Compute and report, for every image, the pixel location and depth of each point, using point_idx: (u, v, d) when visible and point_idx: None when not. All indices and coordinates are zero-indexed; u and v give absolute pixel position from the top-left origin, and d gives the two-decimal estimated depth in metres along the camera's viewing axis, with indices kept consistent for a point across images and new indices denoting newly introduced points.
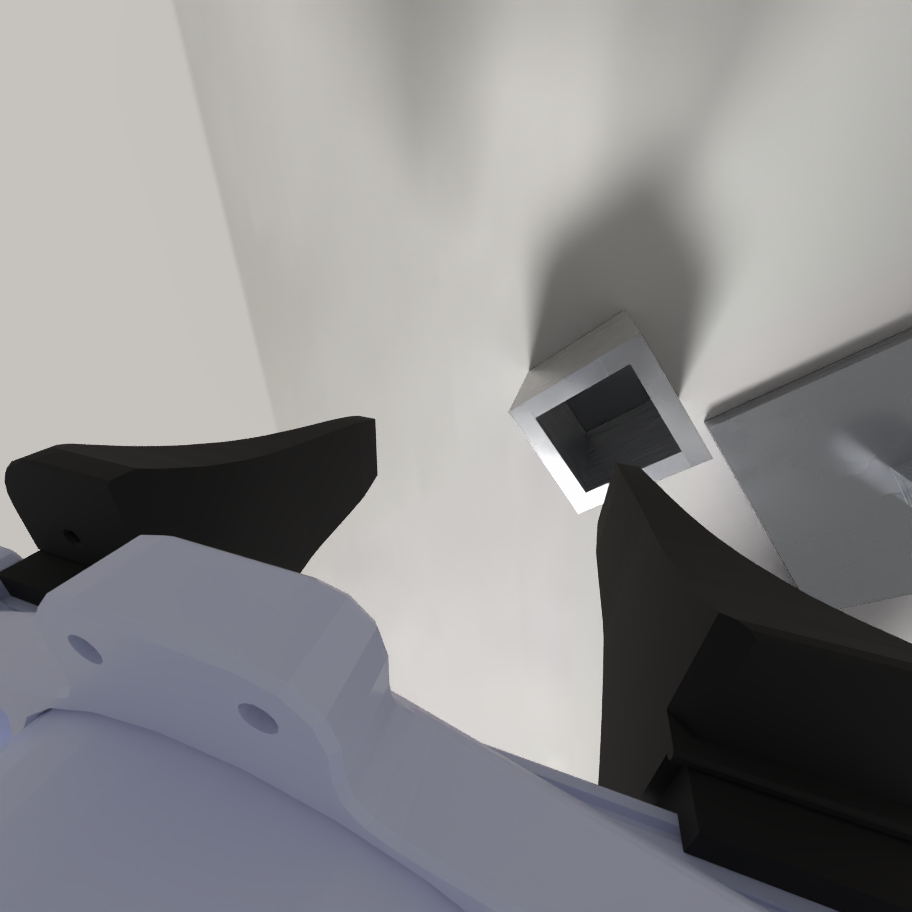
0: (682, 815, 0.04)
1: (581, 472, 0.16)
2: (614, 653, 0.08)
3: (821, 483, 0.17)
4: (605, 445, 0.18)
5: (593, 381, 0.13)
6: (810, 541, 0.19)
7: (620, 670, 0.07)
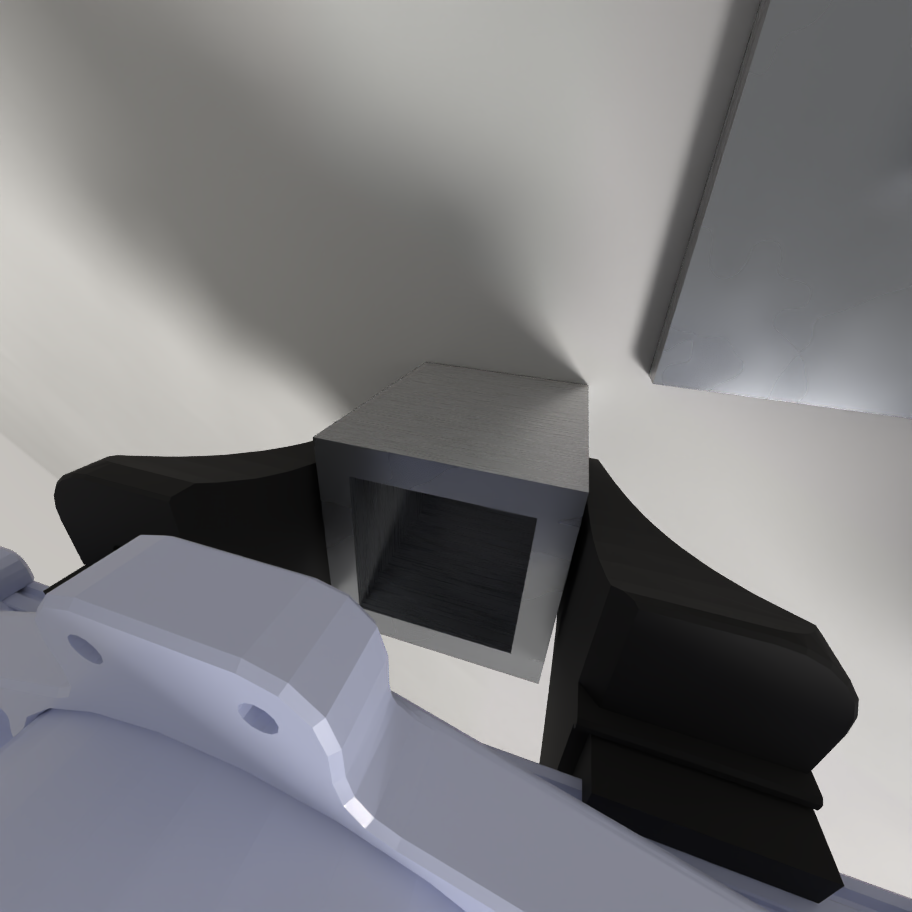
0: (584, 780, 0.05)
1: (505, 608, 0.09)
2: (560, 637, 0.08)
3: None
4: None
5: (348, 526, 0.08)
6: None
7: (561, 653, 0.07)
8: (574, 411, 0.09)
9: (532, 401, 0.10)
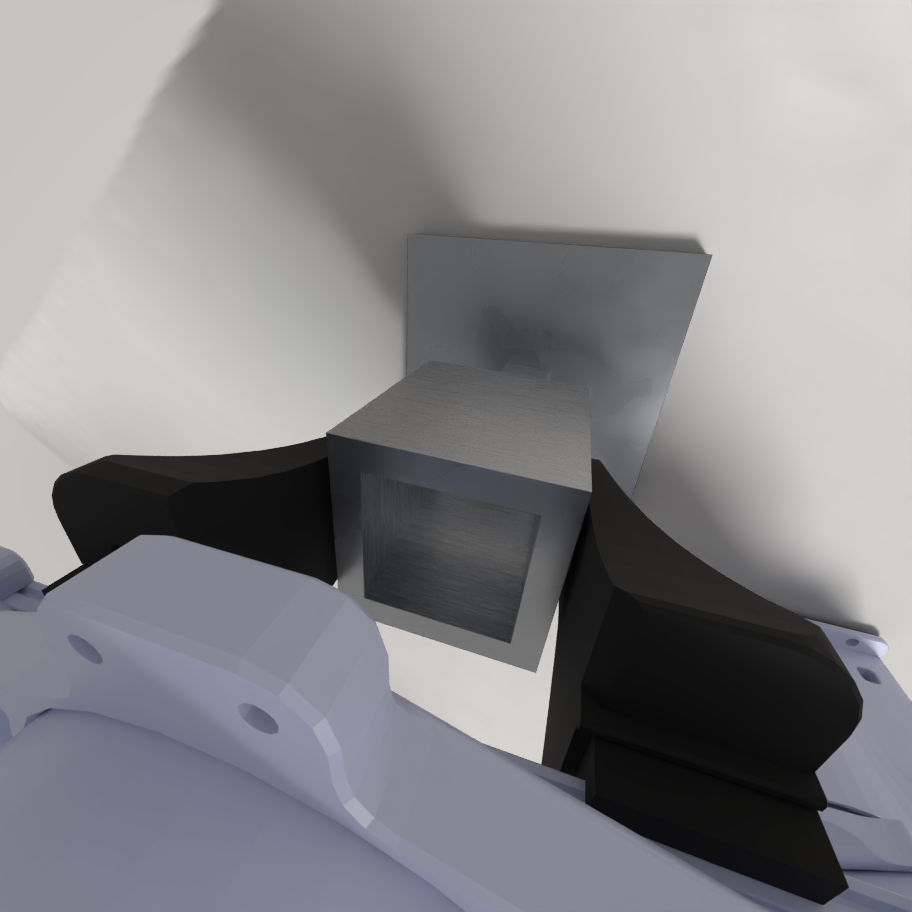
0: (587, 780, 0.05)
1: (504, 601, 0.10)
2: (561, 638, 0.08)
3: None
4: (534, 522, 0.11)
5: (356, 519, 0.08)
6: None
7: (563, 653, 0.07)
8: (576, 412, 0.10)
9: (535, 402, 0.10)
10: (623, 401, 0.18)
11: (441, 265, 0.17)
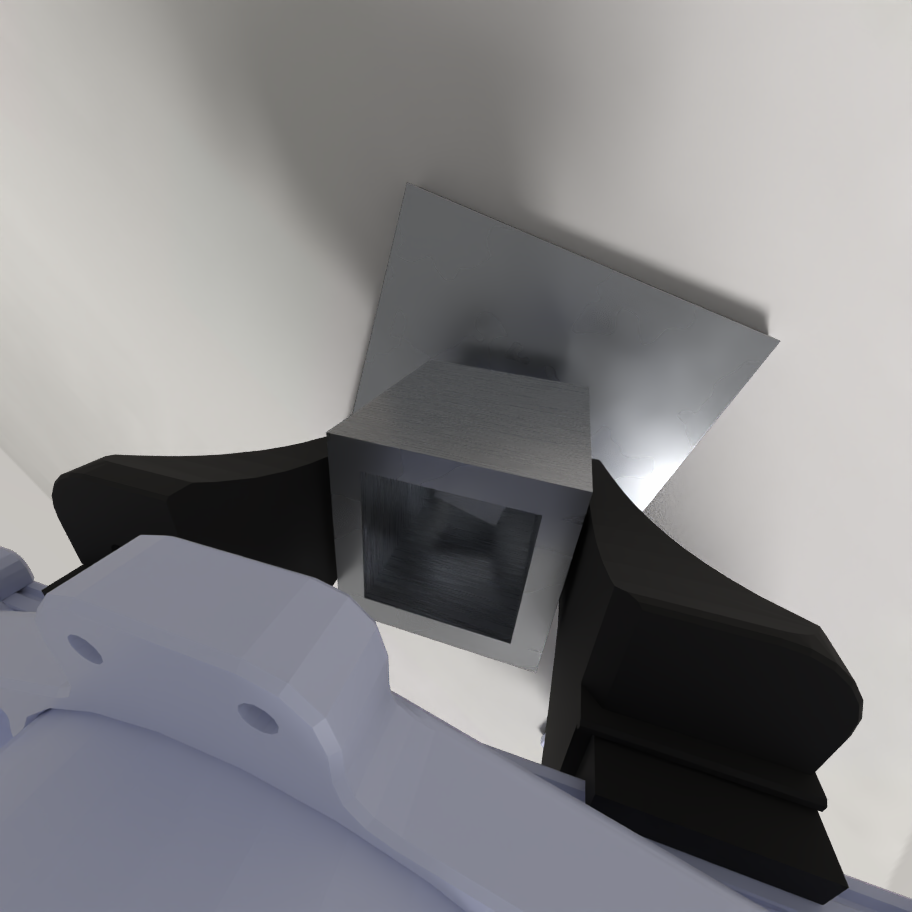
0: (587, 781, 0.04)
1: (504, 601, 0.10)
2: (561, 638, 0.08)
3: None
4: (534, 522, 0.11)
5: (356, 518, 0.08)
6: None
7: (562, 653, 0.07)
8: (576, 412, 0.10)
9: (536, 401, 0.10)
10: (615, 475, 0.14)
11: (442, 241, 0.13)
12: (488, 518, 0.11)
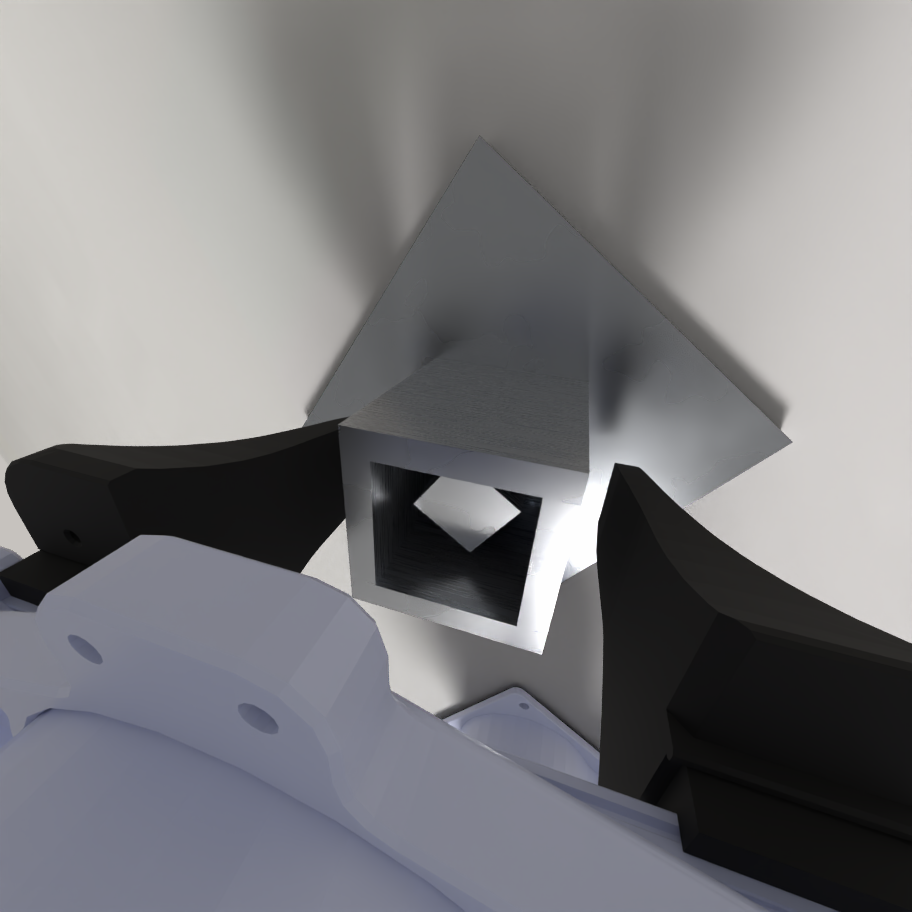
0: (681, 815, 0.04)
1: (510, 587, 0.10)
2: (614, 653, 0.08)
3: None
4: None
5: (367, 507, 0.09)
6: None
7: (620, 670, 0.07)
8: (576, 404, 0.10)
9: (536, 395, 0.10)
10: (590, 517, 0.14)
11: (497, 219, 0.11)
12: (465, 543, 0.10)
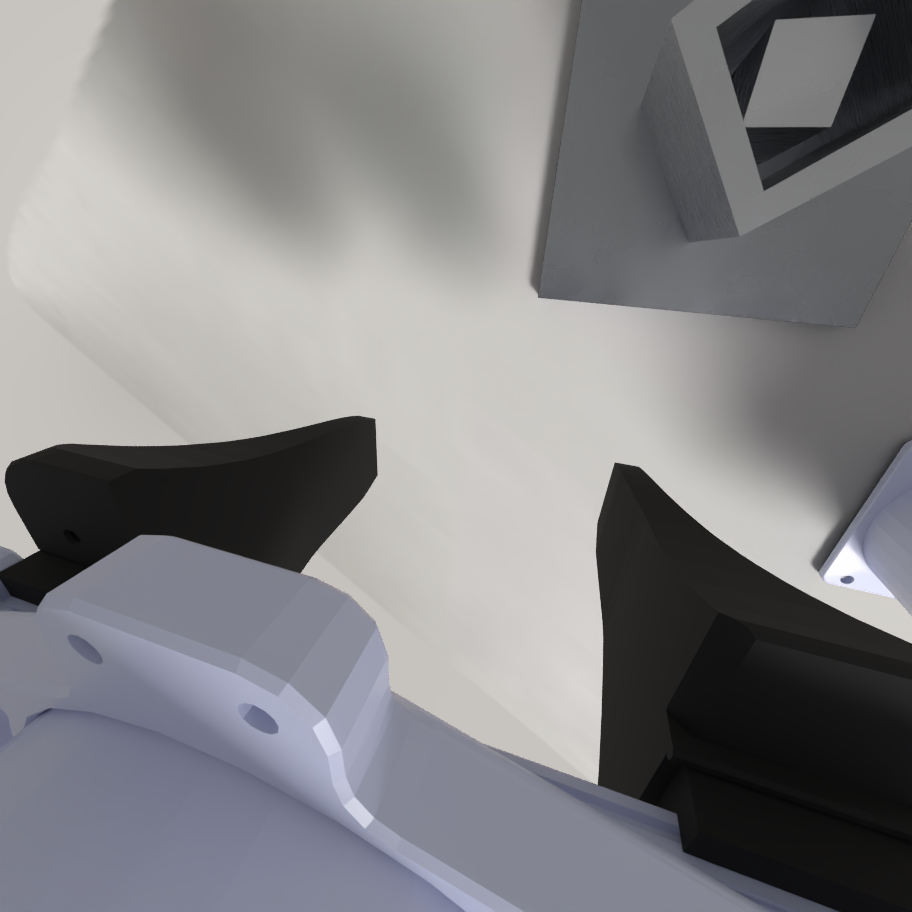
0: (681, 816, 0.04)
1: None
2: (614, 653, 0.08)
3: (669, 234, 0.15)
4: (863, 84, 0.11)
5: (727, 91, 0.09)
6: (738, 278, 0.15)
7: (620, 670, 0.07)
8: None
9: None
10: None
11: None
12: (821, 119, 0.10)
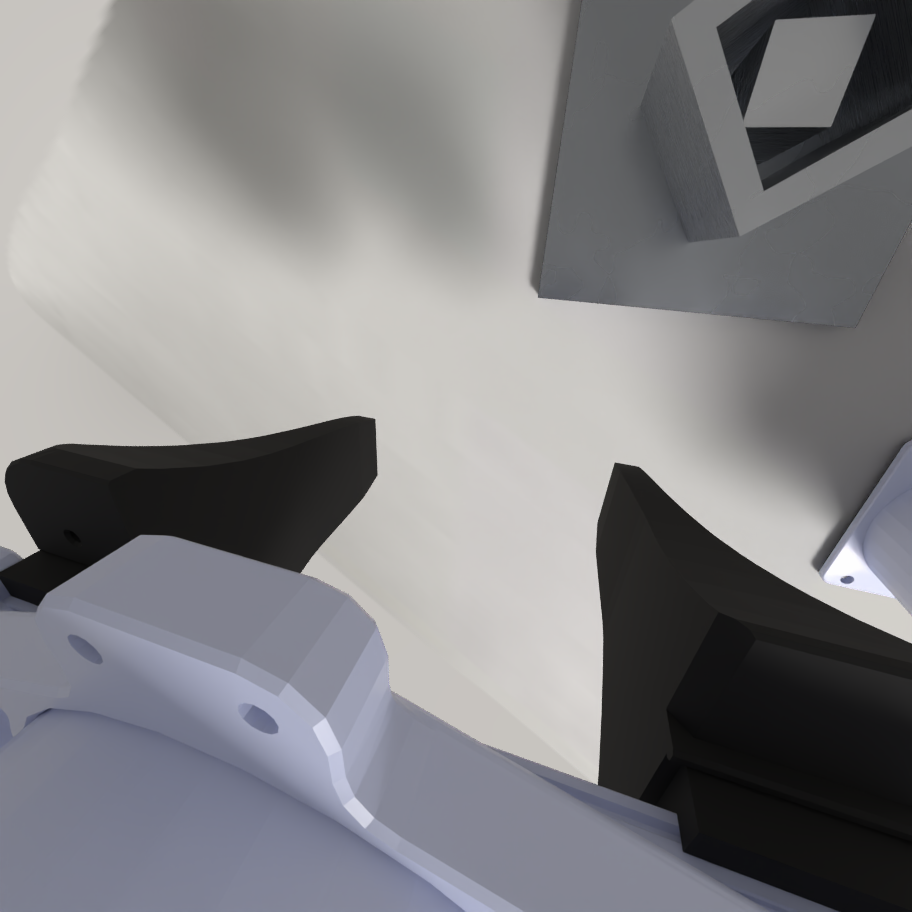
0: (681, 816, 0.04)
1: None
2: (614, 653, 0.08)
3: (669, 234, 0.15)
4: (863, 84, 0.11)
5: (727, 91, 0.09)
6: (738, 278, 0.15)
7: (620, 670, 0.07)
8: None
9: None
10: None
11: None
12: (821, 119, 0.10)
